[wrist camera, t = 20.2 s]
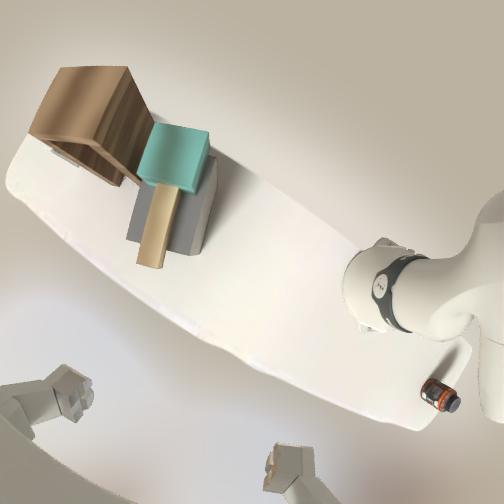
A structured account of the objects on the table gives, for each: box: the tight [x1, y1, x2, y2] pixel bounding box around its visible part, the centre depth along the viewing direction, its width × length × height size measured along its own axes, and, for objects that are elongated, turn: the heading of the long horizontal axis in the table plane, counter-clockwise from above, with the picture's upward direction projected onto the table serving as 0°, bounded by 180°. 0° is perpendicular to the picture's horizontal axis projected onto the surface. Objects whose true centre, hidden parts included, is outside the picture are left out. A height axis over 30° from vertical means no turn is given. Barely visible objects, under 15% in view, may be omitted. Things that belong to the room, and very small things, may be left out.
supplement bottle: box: [421, 379, 461, 413], centre depth 46 cm, size 6×6×11 cm
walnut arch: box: [28, 66, 155, 187], centre depth 32 cm, size 9×8×26 cm
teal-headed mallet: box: [136, 122, 210, 269], centre depth 28 cm, size 6×15×5 cm, turn 166°
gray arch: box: [126, 156, 218, 256], centre depth 38 cm, size 8×12×15 cm, turn 166°
